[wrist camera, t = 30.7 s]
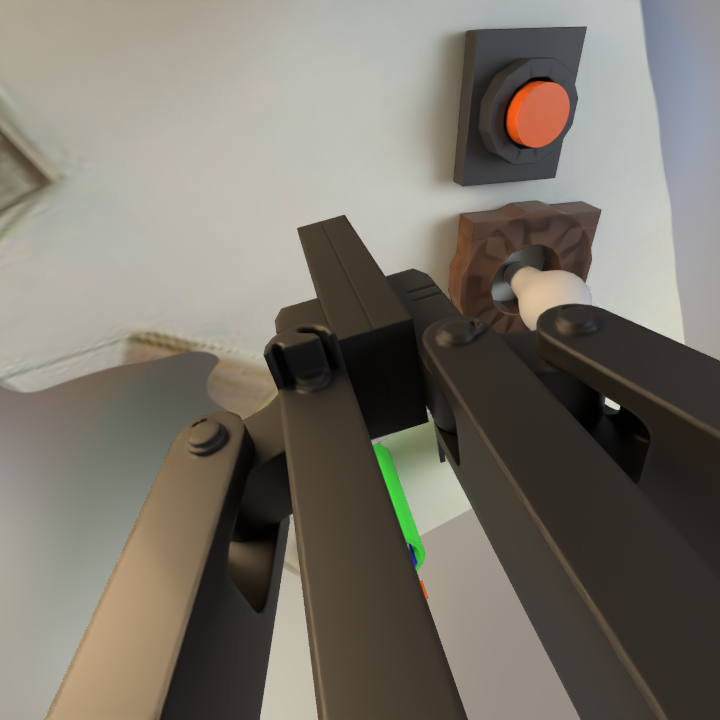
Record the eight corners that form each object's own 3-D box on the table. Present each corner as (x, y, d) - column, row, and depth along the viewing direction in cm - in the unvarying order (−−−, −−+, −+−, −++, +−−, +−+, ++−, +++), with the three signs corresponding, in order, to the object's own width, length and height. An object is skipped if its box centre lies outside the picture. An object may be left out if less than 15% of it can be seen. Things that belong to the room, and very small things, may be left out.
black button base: (466, 30, 34) (490, 28, 31) (571, 27, 36) (604, 25, 32) (453, 181, 40) (471, 192, 37) (543, 173, 42) (568, 183, 39)
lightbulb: (491, 242, 45) (553, 289, 36) (545, 241, 46) (617, 285, 37) (479, 297, 48) (533, 352, 39) (529, 294, 49) (592, 347, 41)
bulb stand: (455, 208, 42) (468, 217, 39) (588, 195, 44) (608, 203, 42) (443, 335, 50) (454, 349, 48) (556, 318, 52) (571, 331, 50)
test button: (509, 82, 33) (521, 83, 32) (562, 79, 34) (576, 80, 33) (500, 146, 36) (511, 150, 35) (550, 142, 37) (562, 146, 35)
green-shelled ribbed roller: (345, 438, 56) (382, 573, 41) (401, 445, 58) (455, 573, 44) (322, 488, 60) (349, 626, 45) (376, 492, 63) (417, 623, 48)
